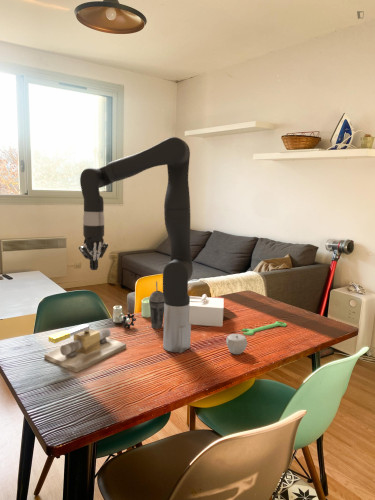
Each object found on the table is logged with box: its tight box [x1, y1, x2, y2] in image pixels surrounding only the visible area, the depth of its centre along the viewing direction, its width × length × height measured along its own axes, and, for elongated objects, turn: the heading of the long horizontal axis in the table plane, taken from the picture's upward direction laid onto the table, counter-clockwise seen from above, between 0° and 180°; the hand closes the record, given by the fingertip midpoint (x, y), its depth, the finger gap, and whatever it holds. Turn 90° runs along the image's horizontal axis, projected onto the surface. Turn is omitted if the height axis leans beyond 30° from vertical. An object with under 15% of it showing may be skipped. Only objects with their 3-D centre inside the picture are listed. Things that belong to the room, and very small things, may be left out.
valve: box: [112, 305, 137, 329], centre depth 160 cm, size 7×7×12 cm
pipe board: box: [43, 327, 127, 373], centre depth 131 cm, size 16×23×8 cm
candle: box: [141, 296, 151, 318], centre depth 171 cm, size 5×5×8 cm
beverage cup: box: [149, 280, 164, 330], centre depth 157 cm, size 7×7×20 cm
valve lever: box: [48, 323, 90, 344], centre depth 125 cm, size 15×3×3 cm, turn 147°
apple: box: [225, 333, 248, 355], centre depth 136 cm, size 8×8×7 cm
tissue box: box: [189, 293, 225, 327], centre depth 169 cm, size 14×25×11 cm, turn 84°
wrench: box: [241, 321, 288, 336], centre depth 161 cm, size 25×2×5 cm
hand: (94, 269), depth 141 cm, fingers closed
